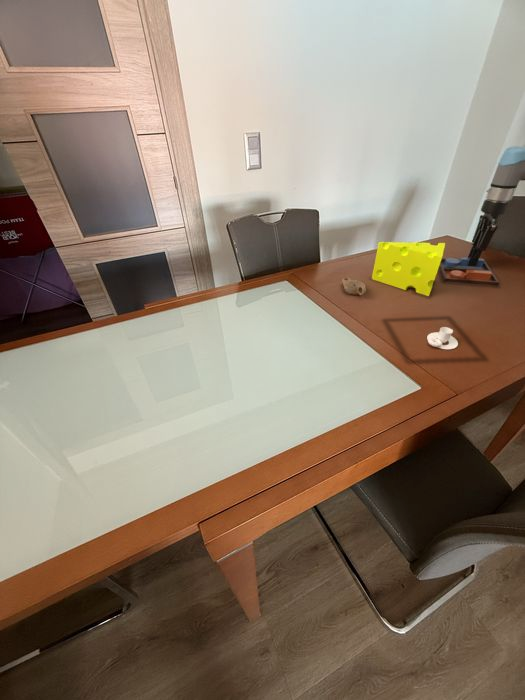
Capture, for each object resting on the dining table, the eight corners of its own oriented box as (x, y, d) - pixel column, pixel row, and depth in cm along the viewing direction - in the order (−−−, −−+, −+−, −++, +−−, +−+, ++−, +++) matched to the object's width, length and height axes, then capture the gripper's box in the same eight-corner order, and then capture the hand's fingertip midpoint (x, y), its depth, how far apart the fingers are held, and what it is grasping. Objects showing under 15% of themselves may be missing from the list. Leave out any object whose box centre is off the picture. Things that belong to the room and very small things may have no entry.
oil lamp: (336, 285, 116) (337, 273, 113) (354, 282, 117) (356, 270, 114) (352, 302, 106) (354, 289, 103) (371, 299, 107) (374, 286, 104)
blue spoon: (479, 263, 121) (482, 257, 120) (482, 268, 117) (485, 262, 116) (443, 260, 124) (445, 254, 123) (445, 265, 120) (447, 259, 119)
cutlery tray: (483, 265, 124) (485, 260, 122) (497, 287, 109) (499, 282, 108) (435, 262, 128) (437, 257, 127) (443, 283, 114) (445, 278, 112)
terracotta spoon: (486, 275, 115) (489, 269, 113) (490, 282, 111) (493, 275, 109) (448, 273, 118) (450, 266, 116) (450, 279, 114) (453, 272, 113)
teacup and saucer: (430, 351, 84) (435, 339, 81) (419, 334, 90) (423, 323, 87) (462, 350, 84) (468, 338, 81) (449, 333, 90) (453, 321, 87)
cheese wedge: (405, 303, 104) (417, 262, 94) (371, 279, 119) (378, 241, 109) (451, 292, 108) (466, 252, 99) (412, 270, 123) (423, 233, 113)
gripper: (479, 194, 112) (456, 256, 126) (491, 205, 100) (464, 271, 115) (502, 195, 110) (476, 257, 125) (517, 206, 99) (486, 273, 113)
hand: (470, 264), depth 120 cm, fingers closed on blue spoon, 2 cm apart
